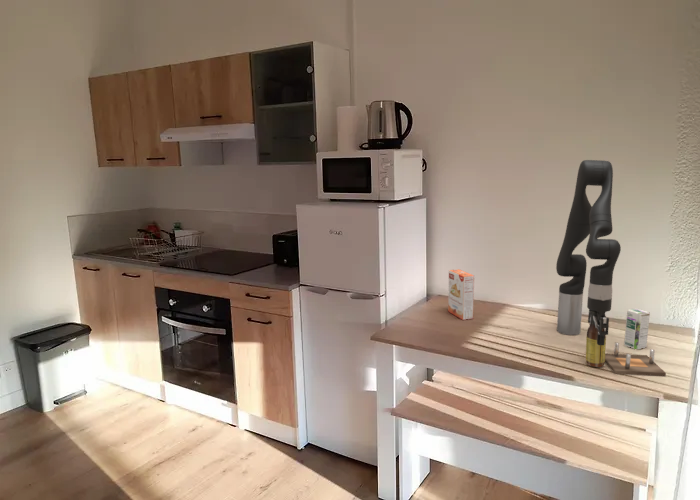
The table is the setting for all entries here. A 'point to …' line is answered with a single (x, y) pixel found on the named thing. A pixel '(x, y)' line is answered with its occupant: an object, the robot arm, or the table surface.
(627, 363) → the metal pins
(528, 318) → the table surface
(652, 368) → the board
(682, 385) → the table surface
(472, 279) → the cracker box
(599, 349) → the sauce bottle
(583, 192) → the robot arm
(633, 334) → the syrup box
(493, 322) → the table surface
